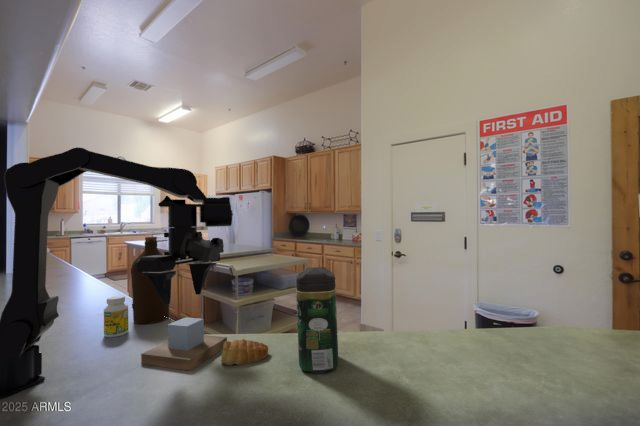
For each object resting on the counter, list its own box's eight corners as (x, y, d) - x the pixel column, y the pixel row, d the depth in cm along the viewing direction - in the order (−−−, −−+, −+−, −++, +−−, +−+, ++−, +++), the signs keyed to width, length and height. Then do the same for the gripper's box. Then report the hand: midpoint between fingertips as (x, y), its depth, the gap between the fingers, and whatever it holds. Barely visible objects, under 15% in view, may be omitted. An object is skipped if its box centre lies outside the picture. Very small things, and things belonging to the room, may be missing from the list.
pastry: (268, 349, 67) (267, 332, 67) (268, 363, 60) (268, 344, 60) (224, 354, 65) (223, 336, 65) (219, 369, 59) (219, 349, 59)
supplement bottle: (132, 329, 82) (132, 294, 83) (122, 337, 77) (122, 299, 78) (110, 331, 82) (110, 295, 82) (99, 338, 76) (99, 300, 77)
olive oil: (176, 313, 97) (175, 235, 98) (161, 324, 86) (160, 237, 87) (142, 315, 96) (142, 236, 97) (123, 326, 86) (122, 238, 87)
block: (187, 350, 62) (187, 326, 62) (168, 348, 64) (168, 324, 64) (203, 341, 67) (203, 318, 67) (185, 339, 68) (185, 317, 69)
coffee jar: (299, 353, 64) (297, 265, 65) (337, 352, 64) (334, 264, 65) (296, 376, 55) (293, 272, 55) (340, 374, 55) (336, 271, 55)
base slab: (189, 370, 58) (189, 360, 58) (141, 363, 61) (141, 353, 61) (227, 346, 69) (226, 337, 69) (184, 341, 73) (184, 333, 73)
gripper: (181, 227, 55) (181, 313, 54) (238, 226, 73) (239, 291, 72) (134, 228, 58) (134, 310, 58) (200, 227, 76) (200, 289, 76)
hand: (183, 299), depth 66 cm, fingers open, 9 cm apart
